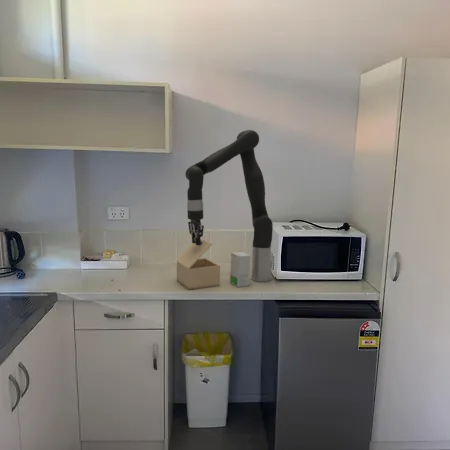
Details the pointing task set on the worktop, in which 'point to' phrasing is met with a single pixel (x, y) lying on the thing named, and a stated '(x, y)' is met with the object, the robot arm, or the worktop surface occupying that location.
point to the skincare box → (240, 269)
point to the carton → (199, 274)
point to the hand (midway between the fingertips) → (196, 243)
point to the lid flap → (193, 253)
